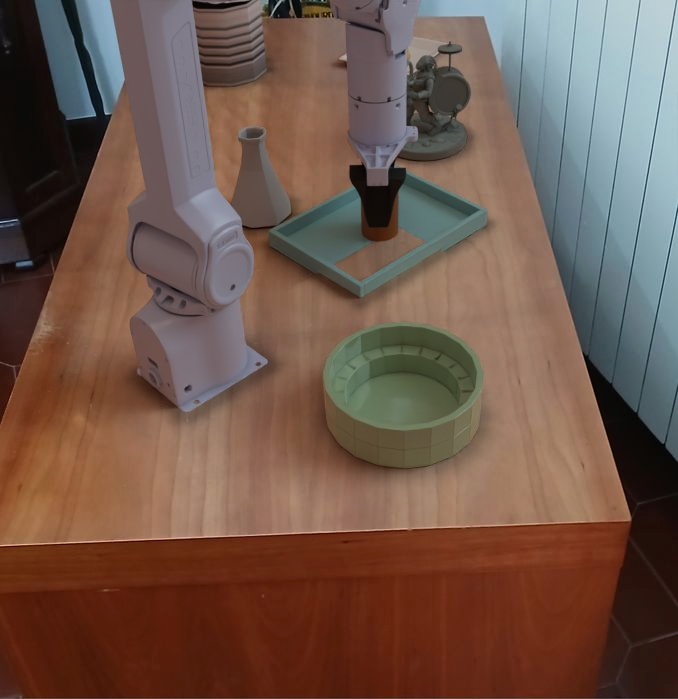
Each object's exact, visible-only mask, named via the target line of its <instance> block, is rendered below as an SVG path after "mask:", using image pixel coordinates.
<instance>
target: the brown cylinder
mask: <svg viewBox="0 0 678 699" xmlns="http://www.w3.org/2000/svg"><path fill="white" fill-rule="evenodd" d="M389 168H392V167H389ZM398 202H399V191H398V193H397V195H396V198H395V202H394V206H393V211H392V216H391V220H390V223H389V226H388V227H380V228H370V227H369V226H368V224H367V221H366V217H365V213H364V209H363V205H362V201H361V231H362V234H363V236H364V237H365V238H367V239H369V240H372V241H374V242H386V241H390V240H392V239H394V238H395V237H396V236H397V235H398V234H399V227H398Z"/></svg>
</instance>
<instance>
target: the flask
mask: <svg viewBox="0 0 678 699" xmlns="http://www.w3.org/2000/svg"><path fill="white" fill-rule="evenodd" d="M267 135H268V134H267V129H266V127H264V126H259V125H248V126H243V127H242V128H240V129H239V130H238V131H237V140H238V142H239V143H240V144H241V157H240V158H241V159H240V166H239V170H238V176H237V180H236V184H235V187H234V190H233V194H232V198H231V203H230V205H231V206H232V207H233V209H234V210H235V211H236V213H237V214H238V215H239V216H240V218H241V222H242V226H243V227H244V226H245V227H248V228H252V229H254V228H264V227H273V226H274V227H275V226H278V225H280V224H282V223H283V222H284V220H285V219H286V218H287V217H288V216H290V215H291V214H292V206H291V200H290V196H289V195H288V193H287V191H286V189H285V187H284V185H283V184H282V182H281V180H280V179H279V177H278V175H277V173H276V170H275V168H274V166H273V165H272V162H271V161H270V158H269V155H268V151H267V148H266V143H265V140H266V139H267V137H268V136H267Z"/></svg>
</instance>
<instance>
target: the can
mask: <svg viewBox="0 0 678 699" xmlns="http://www.w3.org/2000/svg"><path fill="white" fill-rule="evenodd" d="M261 3H262V2H261V0H192V6H193V14H194V21H195V29H196V36H197V44H198V51H199V59H200V66H201V74H202V82H203V85H205V86H207V87H225V88H227V87H229V88H231V87H237V86H240V85H246V84H248V83H253V82H256V81H257V80H258V79H259V78H260V77H262V76H263V75H264V74H265V73H266V72H268V71H267V70H268V67H267V58H266V57H267V56H266V46H265V36H264V27H263V26H264V23H263V15H262V14H263V13H262V4H261Z"/></svg>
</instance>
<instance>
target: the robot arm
mask: <svg viewBox="0 0 678 699" xmlns="http://www.w3.org/2000/svg"><path fill="white" fill-rule="evenodd" d="M328 1H329V6H330V7H329V8H330V11H331V13H332V16H333V17H334V19H336V20H340V21H343V22H345V46H346V47H345V50H346V51H345V53H347V62H346V76H347V77H346V80H347V104H348V105H347V108H348V110H347V111H348V129H347V134H346V135H347V136H346V138H347V142H348V144H349V146H350V147H351V149H352V150H353V151H354V153H355V154H356V156H357V158H358V159H359V160H360V163H361V164H349V165H348V166H349V169H348V178H349V181H350V183H351V185H352V186H354V187H355V189H356V190H357V192H358V194H359V196H360V198H361V201H362V205H363V209H364V213H365V217H366V221H367V224H368V226H369V227H370V228H380V227H388V226H389V223H390V220H391V216H392V211H393V206H394V202H395V198H396V195H397V193H398V191H399V189H400V188H401V186H402V185H403V183H404V181H405V178H406V170H407V167H401V168H394V165H396V160H397V158H398V156H397V155H398V154H399V152H400V151H401V149H402V148H403V147H404V145H405V144H406V143H407V142H414V141H417V140H418V129H417V127H415V126H406V96H407V91H406V89H407V78H408V76H407V47H409V46H410V45H411V40H412V39H413V36H414V26H415V21H416V18H417V16H418V13H419V10H420V6H421V3H422V2H421V1H422V0H328ZM109 4H110V9H111V14H112V20H113V24H114V30H115V34H116V40H117V45H118V51H119V56H120V60H121V66H122V67H121V68H122V72H123V77H124V83H125V88H126V93H127V97H128V98H127V99H128V103H129V104H128V105H129V110H130V114H131V120H132V124H133V131H134V135H135V141H136V145H137V152H138V156H139V161H140V167H141V172H142V177H143V183H144V189H145V190H143V191H142V192H140V193H139V194H137V196H135V198H134V199H133V200H132V201H131V202H130V203H129V204H128V206H127V207H126V210H127V215H128V222H129V224H128V233H127V238H126V244H125V245H126V246H125V248H126V250H125V251H126V258H127V260H128V262H129V264H130V266H131V267H132V268H133V269H134V270H135V271H137V272H139V274H140V273H141V274H142V275H145V278H146V282H147V286H148V288H150V289H151V290H152V296H151V298H149V300H148V302H147V303H146V304H145V305H144V306H143V307H142V308H141V309H140V310H138V311H137V312H136V313H135V314H133V315H132V316H131V317H130V319H129V331H130V336H131V339H132V343H133V347H134V352H135V356H136V360H137V364H138V368H137V369H136V374H137V376H138V377H142V378H143V379H144V380H145V381H146V382H148V384H150V385H151V387H154V388H155V389H156V390H157V391H158V392H159V393H161V395H162V396H164V397H165V398H166V399H167V400H168V401H169V402H171V403H172V404H173V405H174V406H176V407H177V408H178V409H179V410H180V411H182V413H189V412H191V411H194V410H195V409H196V408H198V407H199V406H202V405H203V404H204V403H207V402H208V401H209V400H211V399H213V398H215V397H216V396H218V395H219V394H221V393H222V392H224V391H225V390H227V389H229V388H230V387H232V386H234V385H235V384H237V383H239V382H240V381H242V380H244V379H245V378H246V377H248V376H249V375H251V374H252V373H255V372H256V371H258V370H259V369H261V368H263V367H264V366H266V365H267V364H268V362H269V361H268V359H267V358H265V357H264V356H263V355H261V354H260V353H259V352H258V351H256V350H255V349H253V348H252V347H251V346H249V345H248V344H247V341H246V333H245V327H244V319H243V310H242V305H241V298H240V297H242V295H243V294H244V293H245V292H246V290H247V289H248V287H249V286H250V282H251V280H252V278H253V274H254V268H255V254H254V249H253V247H252V245H251V243H250V242H249V241H248V239H247V238H246V236H245V233H244V230H243V225H242V222H241V218H240V216H239V215H238V214H237V213H236V211H235V210H234V209H233V207H232V206H231V203H230V202H229V201H228V200H227V199H226V198H225V196H224V195H223V194H222V192H221V191H220V190H219V189H218V186H217V181H216V173H215V172H216V171H215V167H214V166H215V164H214V158H213V150H212V143H211V135H210V127H209V120H208V111H207V105H206V104H207V103H206V98H205V97H206V96H205V89H204V84H203V82H202V74H201V66H200V59H199V51H198V44H197V36H196V29H195V21H194V14H193V6H192V0H109ZM389 167H392V168H389ZM256 364H259V365H256ZM196 401H198V403H194V402H196Z"/></svg>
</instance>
